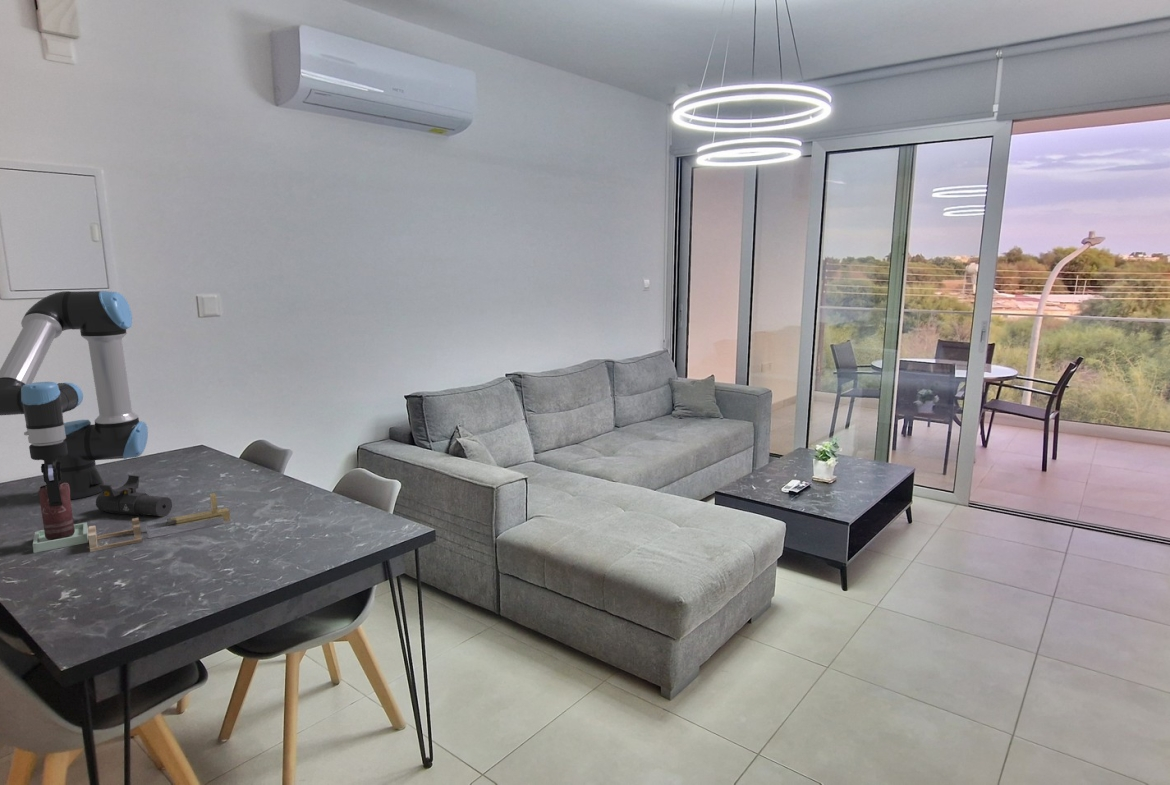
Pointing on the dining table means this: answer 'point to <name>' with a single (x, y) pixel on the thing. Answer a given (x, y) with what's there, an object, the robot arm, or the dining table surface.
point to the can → (57, 514)
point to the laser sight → (132, 500)
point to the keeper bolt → (202, 514)
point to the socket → (94, 537)
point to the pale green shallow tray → (44, 544)
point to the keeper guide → (180, 526)
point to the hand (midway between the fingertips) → (60, 528)
